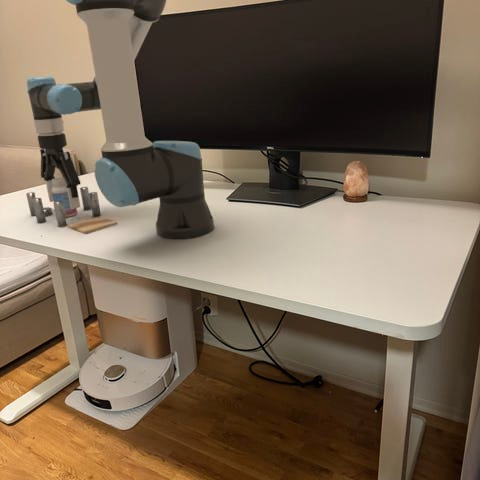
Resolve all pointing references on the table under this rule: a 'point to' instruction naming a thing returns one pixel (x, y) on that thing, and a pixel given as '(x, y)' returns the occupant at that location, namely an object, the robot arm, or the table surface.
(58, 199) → the pill bottle
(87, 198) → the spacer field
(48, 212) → the steel nut
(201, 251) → the table surface
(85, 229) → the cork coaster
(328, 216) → the table surface
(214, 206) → the table surface
